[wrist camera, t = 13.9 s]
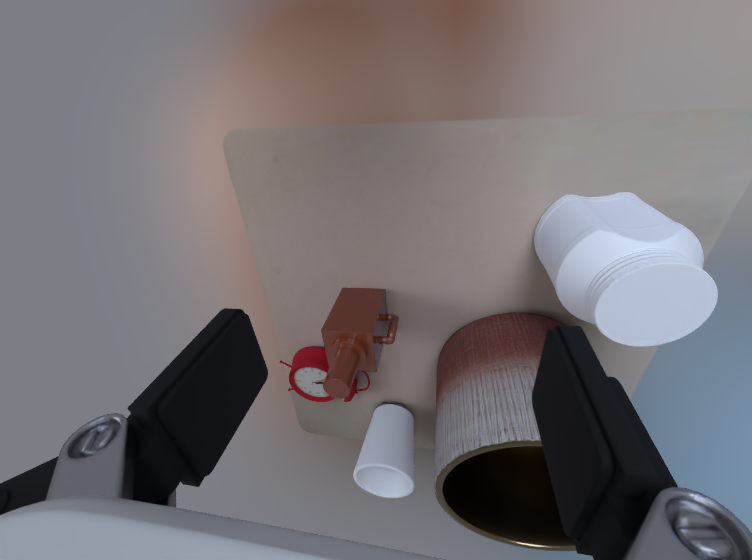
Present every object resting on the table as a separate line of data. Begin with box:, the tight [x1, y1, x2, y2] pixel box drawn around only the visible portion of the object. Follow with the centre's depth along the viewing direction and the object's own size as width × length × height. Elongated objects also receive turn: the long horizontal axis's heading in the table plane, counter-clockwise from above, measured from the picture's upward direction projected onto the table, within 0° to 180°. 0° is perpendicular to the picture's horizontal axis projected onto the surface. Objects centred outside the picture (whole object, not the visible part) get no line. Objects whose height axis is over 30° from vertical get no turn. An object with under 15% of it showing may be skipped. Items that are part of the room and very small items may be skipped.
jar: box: [534, 192, 718, 347], centre depth 32 cm, size 12×10×15 cm
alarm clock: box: [280, 347, 370, 402], centre depth 57 cm, size 10×6×15 cm
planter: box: [434, 313, 577, 551], centre depth 43 cm, size 22×22×20 cm
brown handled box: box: [321, 288, 399, 398], centre depth 44 cm, size 7×9×16 cm
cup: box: [353, 402, 414, 498], centre depth 57 cm, size 10×10×13 cm
